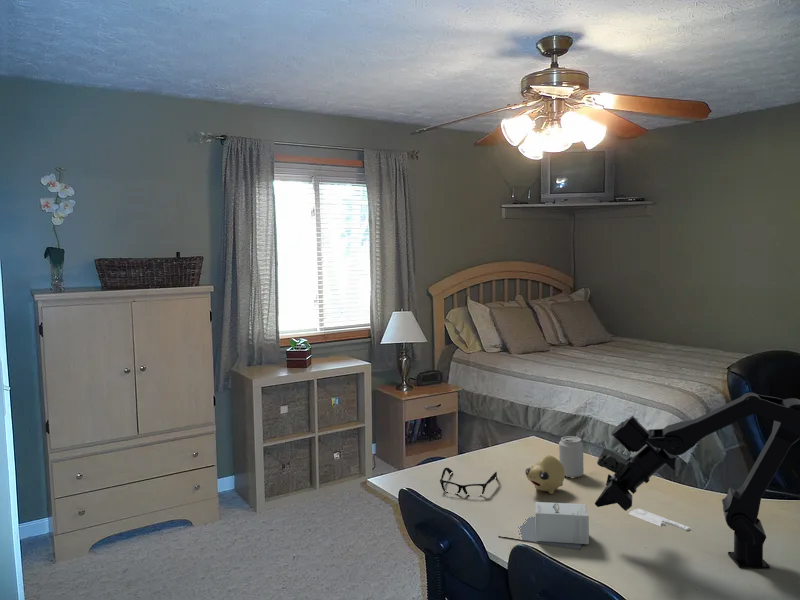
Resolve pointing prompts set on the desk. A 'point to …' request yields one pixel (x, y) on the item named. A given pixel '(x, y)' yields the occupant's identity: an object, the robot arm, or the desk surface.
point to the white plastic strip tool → (655, 519)
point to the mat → (530, 535)
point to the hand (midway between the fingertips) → (596, 505)
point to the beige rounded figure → (546, 474)
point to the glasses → (465, 485)
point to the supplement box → (562, 523)
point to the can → (571, 456)
